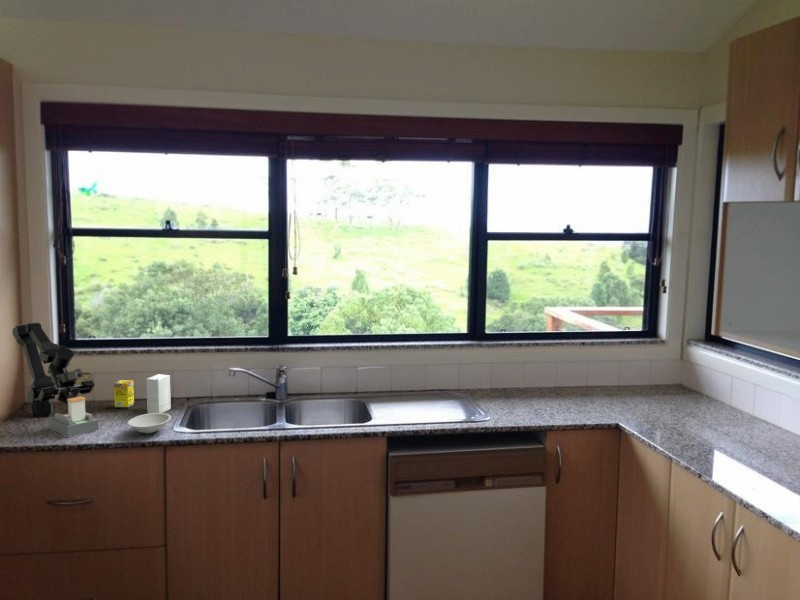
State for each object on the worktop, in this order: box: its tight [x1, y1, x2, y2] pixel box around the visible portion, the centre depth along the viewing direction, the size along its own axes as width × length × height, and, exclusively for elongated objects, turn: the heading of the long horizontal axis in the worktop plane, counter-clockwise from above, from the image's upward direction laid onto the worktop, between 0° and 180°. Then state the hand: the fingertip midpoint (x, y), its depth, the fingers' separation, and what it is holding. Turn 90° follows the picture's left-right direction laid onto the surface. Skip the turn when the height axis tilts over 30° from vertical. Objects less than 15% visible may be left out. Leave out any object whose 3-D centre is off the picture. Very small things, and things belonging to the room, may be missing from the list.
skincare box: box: [145, 373, 172, 414], centre depth 264 cm, size 8×6×15 cm
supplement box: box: [113, 379, 135, 410], centre depth 270 cm, size 6×6×11 cm
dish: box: [127, 412, 172, 434], centre depth 237 cm, size 18×14×5 cm
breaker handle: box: [67, 395, 86, 422], centre depth 237 cm, size 3×5×8 cm, turn 141°
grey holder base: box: [48, 411, 99, 438], centre depth 240 cm, size 16×11×6 cm
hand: (75, 408), depth 238 cm, fingers closed, pressing on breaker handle
